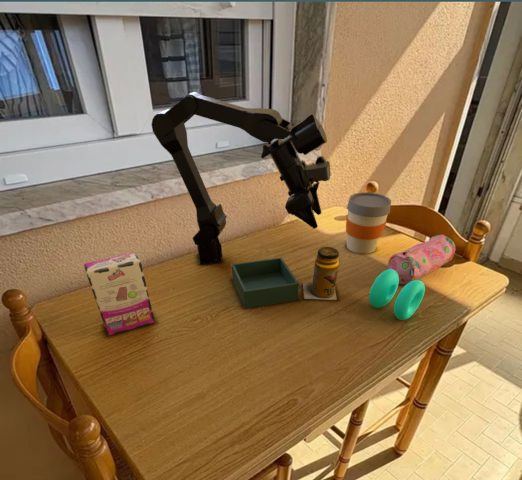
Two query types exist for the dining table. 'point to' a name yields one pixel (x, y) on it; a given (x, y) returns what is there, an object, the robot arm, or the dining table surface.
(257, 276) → the square tray
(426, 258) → the pencil case
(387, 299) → the donuts
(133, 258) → the candy bar box
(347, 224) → the reusable coffee cup
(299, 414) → the dining table surface
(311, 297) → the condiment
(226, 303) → the dining table surface
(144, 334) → the dining table surface
